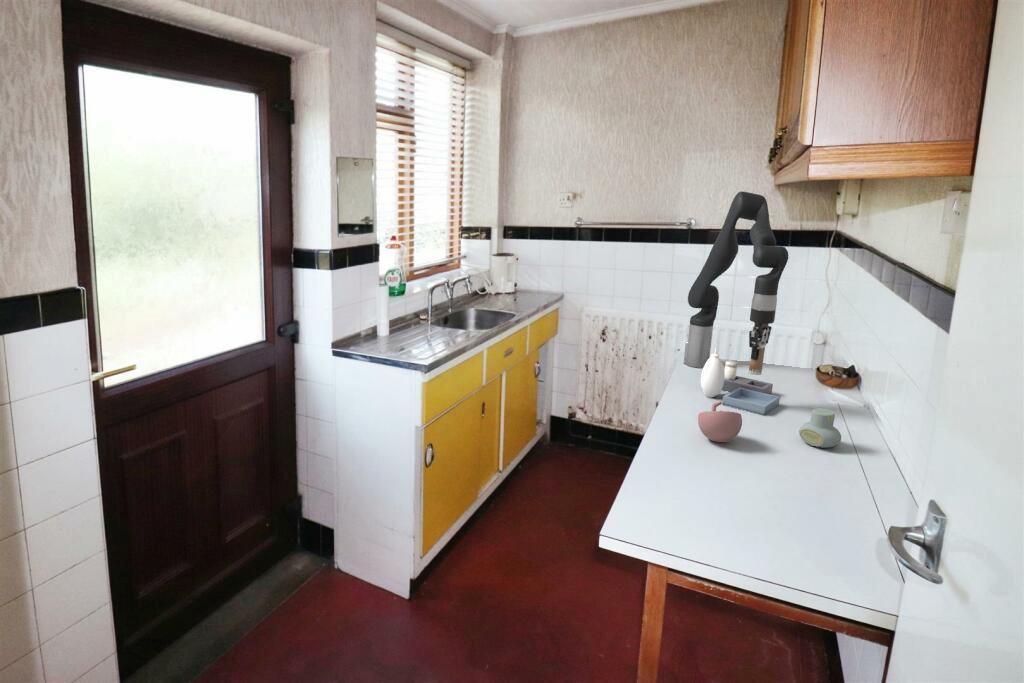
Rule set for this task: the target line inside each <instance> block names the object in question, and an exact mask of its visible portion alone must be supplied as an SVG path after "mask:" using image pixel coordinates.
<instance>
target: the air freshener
mask: <svg viewBox="0 0 1024 683" xmlns="http://www.w3.org/2000/svg"><path fill="white" fill-rule="evenodd" d="M835 416H836V414H835V412H834V411H832V410H830V409H826V408H822V407H821V408H820V407H819V408H818V407H817V408H814V409H812V410H811V416H810V421H808V422H806V423H804V424H802V425H801V426H799V429H798V434H799V436H800V438H801V439H802V440H803V441H804V442H805V443H807V445H809V444H810V445H809V446H811V445H812V446H811V447H813V446H816V447H815V448H819V447H821V449H822V448H823V449H827V448H828V449H829V448H833V447H835V446H838V444H839V443H840V442H842V435H841V432H840V430H839V429H838V428H836V427H835V426H834V424H835Z"/></svg>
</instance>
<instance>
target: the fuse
mask: <svg viewBox="0 0 1024 683" xmlns="http://www.w3.org/2000/svg"><path fill="white" fill-rule="evenodd" d="M737 368H738V361H736V360H726V361H725V364H724V375H725V378H724V379H728V380H732V381H735V378H736V376H737V371H738V370H737Z"/></svg>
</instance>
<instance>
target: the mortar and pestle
mask: <svg viewBox="0 0 1024 683" xmlns="http://www.w3.org/2000/svg"><path fill="white" fill-rule="evenodd" d="M721 405H722V400H719V401H718V402H715V403H714V402H713V403H712V404H711V410H706V411H702V412H701V411H700V412H699V413H698V415H697V424H698V427H699V430H700V432H701V434H702V435H703V436H704V437H706V438H707V439H709V440H711V441H712V442H716V443H726V442H729V441H732V440H733V439H735V438H736V437H737V436H738V435H739V433H740V431H741V430H742V426H743V416H742V414H741V413H739V412H736V411H728V410H726V411H725V410H717V408H718V407H719V406H721Z"/></svg>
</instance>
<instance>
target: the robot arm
mask: <svg viewBox="0 0 1024 683" xmlns="http://www.w3.org/2000/svg"><path fill="white" fill-rule="evenodd" d="M769 212H770V211H769V207H768V201H767V198H766V197H765V196H764V195H761V194H757V193H753V192H747V191H739V192H737V193H736V194H735V196H734V197H733V199H732V202H731V205H730V207H729V209H728V211H727V214H726V217H725V219H724V222H723V225H722V227H721V229H720V231H719V234H718V236H717V238H716V240H715V241H714V243H713V245H712V247H711V249H710V252H709V254H708V256H707V258H706V261H705V262H704V265H703V266H702V269H701V271H700V272H699V274H698V275H697V278H696V279H695V280H694V282H693V284H692V285H691V287H690V289H689V291H688V294H687V303H688V305H689V307H691V308H693V309H700V311H699V312H697V313H695V314H693V315H692V316H690V318H689V326H688V327H689V328H688V337H687V341H686V342H685V346H684V357H683V365H686V366H688V367H692V368H696V367H697V369H703V368H704V366H705V364H706V362H707V360H708V359H709V358H710V357H711V349H712V338H713V331H714V330H713V329H714V323H715V320H716V319H717V314H718V313H717V312H718V305H719V301H720V300H719V298H720V294H719V290H718V287H716V286H715V285H712V283H713V282H714V281H715V280H717V279H718V278H719V277H721V275H723V274H724V273H725V272H726V271H727V270H729V269H730V267H731V266H732V265H733V263H734V261H735V259H736V257H737V256H738V254H739V242H738V237H737V232H736V226H737V222H738V221H739V219H742V220H748V221H754V222H755V223H754V224H753V225H752V226H751V228H750V231H749V238H750V241H751V243H752V246H753V253H752V263H753V265H755V267H757V268H761V269H765V268H766V269H771V270H770V271H769V272H768V273H766V274H761V275H758V276H756V277H755V279H754V280H755V283H754V289H753V295H752V299H751V305H750V306H751V307H750V314H749V315H750V316H749V320H750V322H753V323H754V325H753V327H752V329H751V330H749V334H748V335H749V336H748V344H749V348H751V351H752V353H751V352H750V359H753V360H758V357H759V349H760V344H761V343H763V344H765V347H766V345H767V344H768V343H769V340H770V336H771V332H772V329H773V328H772V326H769V324H774V322H775V319H776V317H775V316H776V313H777V312H776V311H777V306H778V305H777V304H778V290H779V283H780V280H781V277H782V275H783V272H784V270H785V268H786V266H787V263H788V261H789V252H788V251H789V250H788V249H787V248H786V247H785V246H781V245H777V239H776V237H775V234H774V232H773V230H772V226H771V222H770V214H769Z"/></svg>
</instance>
